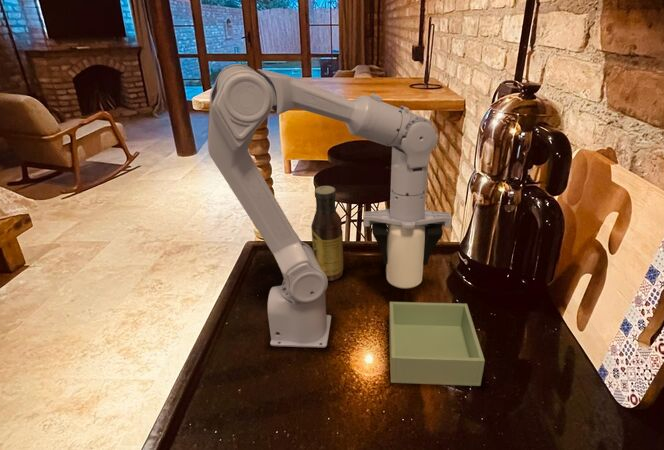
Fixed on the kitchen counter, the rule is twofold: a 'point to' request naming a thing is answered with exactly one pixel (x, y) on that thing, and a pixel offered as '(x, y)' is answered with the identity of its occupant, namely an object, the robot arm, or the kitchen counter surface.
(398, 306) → the bin
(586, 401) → the kitchen counter surface
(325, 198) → the sauce bottle
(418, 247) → the can
